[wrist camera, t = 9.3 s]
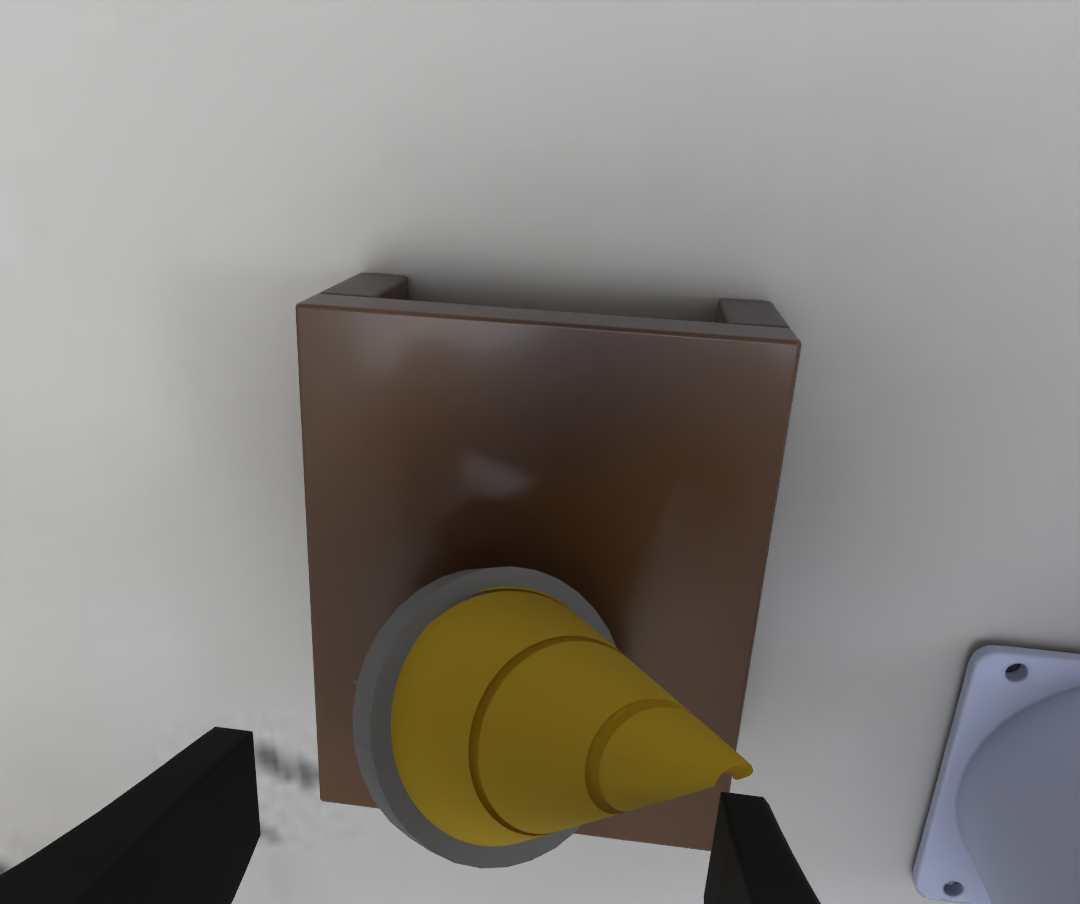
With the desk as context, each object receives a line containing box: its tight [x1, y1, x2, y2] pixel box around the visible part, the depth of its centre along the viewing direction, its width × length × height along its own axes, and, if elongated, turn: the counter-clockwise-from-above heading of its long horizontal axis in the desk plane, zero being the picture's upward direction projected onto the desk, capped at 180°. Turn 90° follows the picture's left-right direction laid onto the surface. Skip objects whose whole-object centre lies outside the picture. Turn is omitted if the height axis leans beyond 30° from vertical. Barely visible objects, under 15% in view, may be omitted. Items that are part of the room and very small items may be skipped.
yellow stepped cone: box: [352, 566, 753, 868], centre depth 15 cm, size 5×5×10 cm
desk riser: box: [296, 273, 801, 851], centre depth 20 cm, size 10×12×4 cm
